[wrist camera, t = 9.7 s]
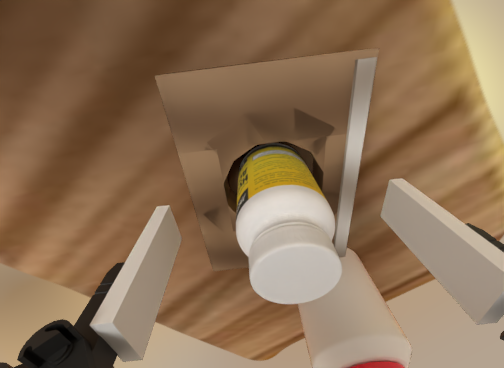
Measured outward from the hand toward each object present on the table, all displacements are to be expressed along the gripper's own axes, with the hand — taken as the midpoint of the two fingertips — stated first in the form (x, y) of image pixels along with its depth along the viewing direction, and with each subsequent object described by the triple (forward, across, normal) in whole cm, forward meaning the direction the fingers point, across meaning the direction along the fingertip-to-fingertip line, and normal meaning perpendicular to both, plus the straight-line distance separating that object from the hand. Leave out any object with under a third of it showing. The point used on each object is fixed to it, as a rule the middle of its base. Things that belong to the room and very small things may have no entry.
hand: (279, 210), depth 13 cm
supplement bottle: (+5, 0, 0) cm, 5 cm away
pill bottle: (+5, +5, -13) cm, 15 cm away
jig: (+5, 0, 0) cm, 5 cm away
